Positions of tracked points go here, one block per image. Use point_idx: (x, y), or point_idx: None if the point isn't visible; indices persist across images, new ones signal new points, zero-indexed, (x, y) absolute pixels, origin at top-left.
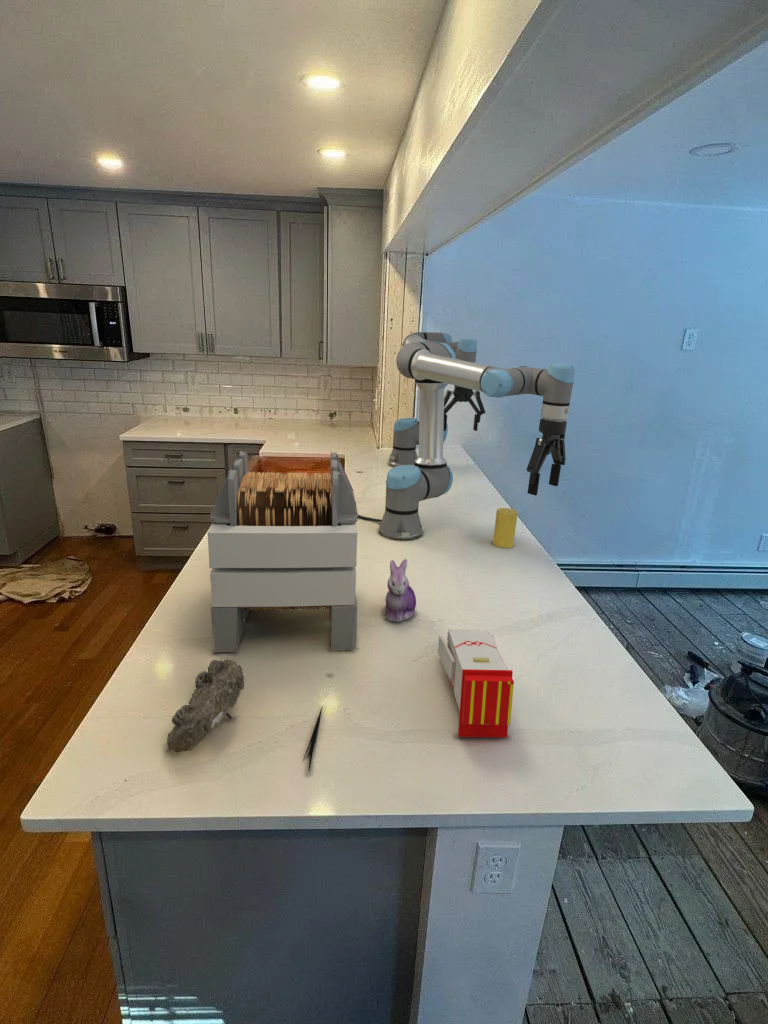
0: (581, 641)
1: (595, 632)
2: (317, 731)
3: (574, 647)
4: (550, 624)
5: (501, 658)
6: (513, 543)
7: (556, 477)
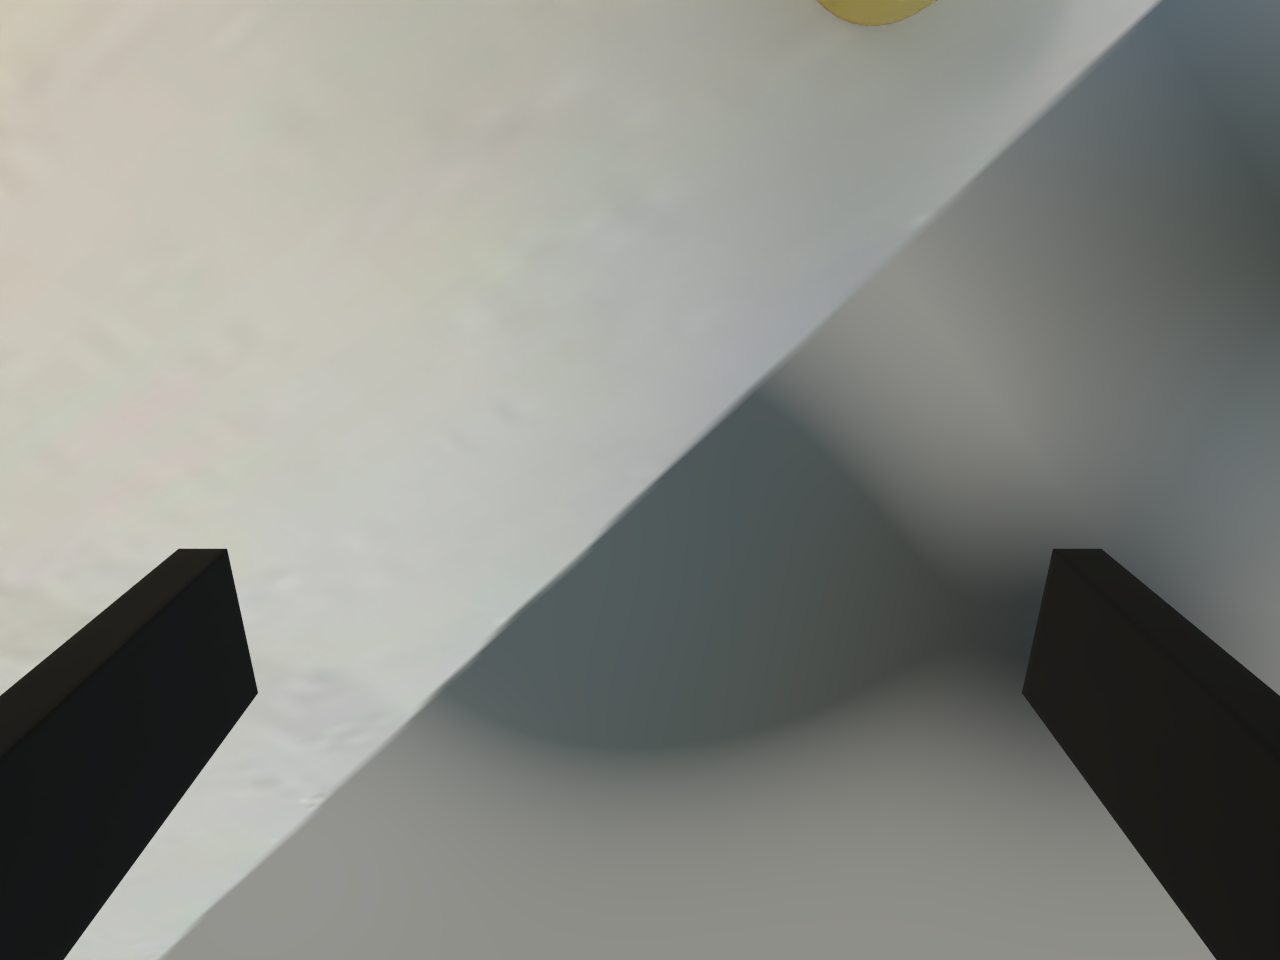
0: None
1: (248, 832)
2: None
3: None
4: None
5: None
6: (906, 16)
7: (1121, 785)
